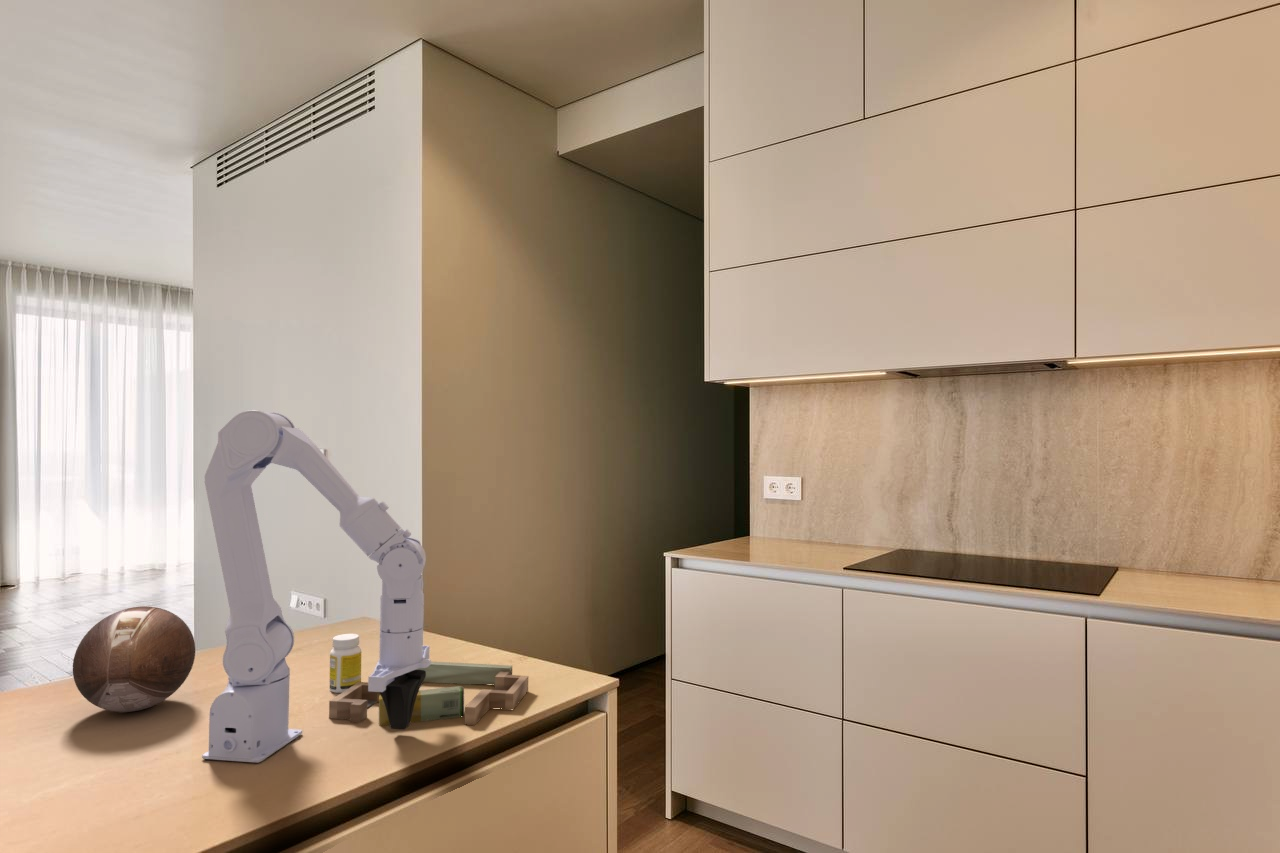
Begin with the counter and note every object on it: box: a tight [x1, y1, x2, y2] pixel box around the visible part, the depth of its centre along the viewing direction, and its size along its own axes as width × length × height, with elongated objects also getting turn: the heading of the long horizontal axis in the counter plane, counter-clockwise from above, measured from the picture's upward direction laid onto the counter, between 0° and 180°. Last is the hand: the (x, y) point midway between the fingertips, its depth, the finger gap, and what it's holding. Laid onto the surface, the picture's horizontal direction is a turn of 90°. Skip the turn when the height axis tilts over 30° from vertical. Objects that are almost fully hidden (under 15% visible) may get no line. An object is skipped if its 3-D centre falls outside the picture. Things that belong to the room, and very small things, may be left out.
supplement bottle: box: [329, 633, 362, 694], centre depth 118 cm, size 5×5×8 cm
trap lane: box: [328, 660, 529, 726], centre depth 112 cm, size 20×25×3 cm
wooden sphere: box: [72, 606, 196, 713], centre depth 108 cm, size 15×15×15 cm
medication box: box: [377, 685, 465, 726], centre depth 106 cm, size 12×3×4 cm, turn 109°
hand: (399, 727), depth 99 cm, fingers closed
